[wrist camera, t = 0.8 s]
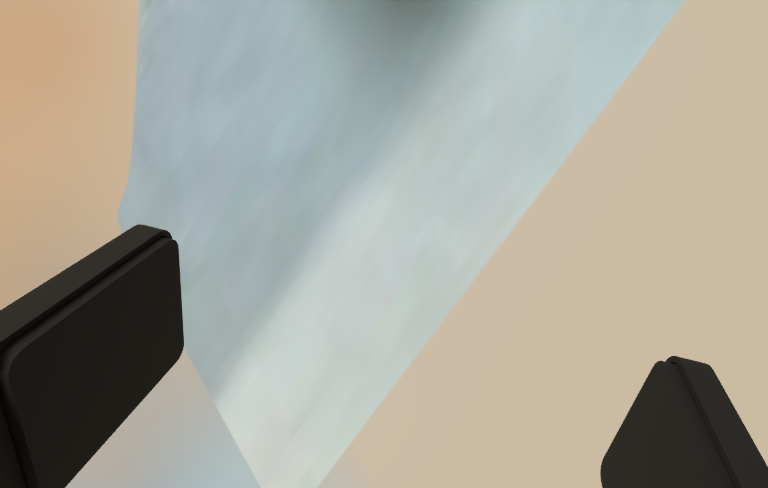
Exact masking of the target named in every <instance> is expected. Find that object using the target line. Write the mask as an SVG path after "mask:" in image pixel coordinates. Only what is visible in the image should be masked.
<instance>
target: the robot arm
mask: <svg viewBox="0 0 768 488" xmlns="http://www.w3.org/2000/svg"><path fill="white" fill-rule="evenodd" d="M183 347H184V336H183V319H182V301H181V284H180V266H179V249H178V244H177V242H176V241H175V240H173V239H172V236H171V234H170V233H169V232H168V231H166V230H162V229H158V228H154V227H150V226H146V225H136V226H134V227H132V228H131V229H129V230H127V231H126V232H124V233H123V234H121V235H120V236H118V237H117V238H115V239H113V240H112V241H110V242H108V243H107V244H105V245H104V246H102V247H101V248H99V249H97V250H96V251H94V252H93V253H91V254H89V255H88V256H86V257H85V258H83V259H81V260H80V261H78V262H77V263H75V264H73V265H72V266H70V267H69V268H67V269H66V270H64V271H62V272H61V273H59V274H58V275H56V276H54V277H53V278H51V279H50V280H48V281H47V282H45V283H43V284H42V285H40V286H39V287H37V288H35V289H34V290H32V291H31V292H29V293H27V294H26V295H24V296H23V297H21V298H19V299H18V300H16V301H15V302H13V303H12V304H10V305H8V306H7V307H5V308H4V309H2V310H0V488H65V487H66V486H67V484H68V483H69V482H70V481H71V480H72V479H73V478H74V477H75V476H76V474H77V473H78V472H79V471H80V470H81V469H82V468H83V467H84V465H85V464H86V463H87V462H88V461H89V460H90V459H91V457H92V456H93V455H94V454H95V453H96V452H97V451H98V450H99V449H100V447H101V446H102V445H103V444H104V443H105V442H106V441H107V439H108V438H109V437H110V436H111V435H112V434H113V433H114V432H115V431H116V429H117V428H118V427H119V426H120V425H121V424H122V423H123V421H124V420H125V419H126V418H127V417H128V416H129V415H130V414H131V412H132V411H133V410H134V409H135V408H136V407H137V406H138V405H139V403H140V402H141V401H142V400H143V399H144V398H145V397H146V396H147V394H148V393H149V392H150V391H151V390H152V389H153V388H154V387H155V385H156V384H157V383H158V382H159V381H160V380H161V379H162V378H163V376H164V375H165V374H166V373H167V372H168V371H169V370H170V368H171V367H172V366H173V365H174V364H175V363H176V362H177V360H178V359H179V357H180V355H181V353H182V351H183ZM601 482H602V487H603V488H768V467H767V465H766V463H765V461H764V460H763V458H762V456H761V454H760V452H759V451H758V449H757V447H756V445H755V444H754V442H753V440H752V438H751V436H750V435H749V433H748V431H747V429H746V427H745V426H744V424H743V422H742V420H741V419H740V417H739V415H738V413H737V411H736V410H735V408H734V406H733V404H732V403H731V401H730V399H729V397H728V395H727V394H726V392H725V390H724V388H723V386H722V385H721V383H720V381H719V380H718V378H717V376H716V374H715V372H714V370H713V369H712V368H711V366H710V365H708V364H705V363H701V362H697V361H693V360H689V359H685V358H680V357H677V356H672V357H669V358H668V359H667V360H666V362H663V361H658V362H657V363H655V365H654V367H653V368H652V370H651V372H650V374H649V375H648V377H647V379H646V381H645V383H644V385H643V386H642V388H641V390H640V392H639V394H638V396H637V397H636V399H635V401H634V403H633V405H632V407H631V408H630V410H629V412H628V414H627V416H626V418H625V420H624V421H623V423H622V425H621V427H620V429H619V431H618V432H617V434H616V436H615V438H614V440H613V442H612V443H611V445H610V447H609V449H608V451H607V453H606V454H605V456H604V458H603V461H602V465H601Z"/></svg>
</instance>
